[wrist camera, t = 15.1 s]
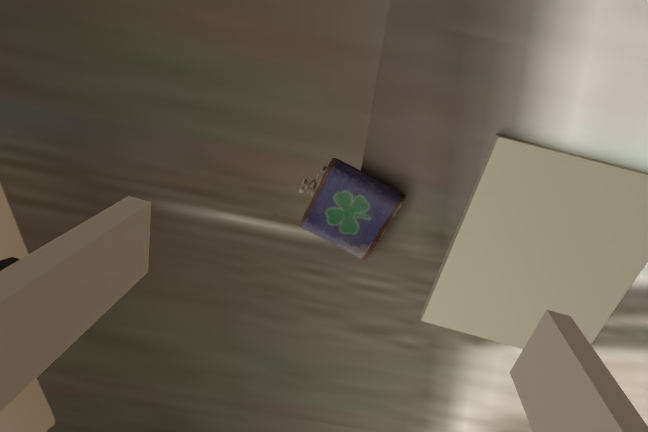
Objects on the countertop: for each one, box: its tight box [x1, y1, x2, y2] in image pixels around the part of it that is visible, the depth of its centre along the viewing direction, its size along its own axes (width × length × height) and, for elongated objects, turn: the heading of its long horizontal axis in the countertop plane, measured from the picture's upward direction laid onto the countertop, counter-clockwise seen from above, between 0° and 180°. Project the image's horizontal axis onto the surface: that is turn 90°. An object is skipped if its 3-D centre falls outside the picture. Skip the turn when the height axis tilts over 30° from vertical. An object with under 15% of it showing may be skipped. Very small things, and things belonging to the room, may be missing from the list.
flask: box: [299, 158, 406, 261], centre depth 44 cm, size 9×3×11 cm
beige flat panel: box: [420, 134, 648, 349], centre depth 45 cm, size 24×20×1 cm
